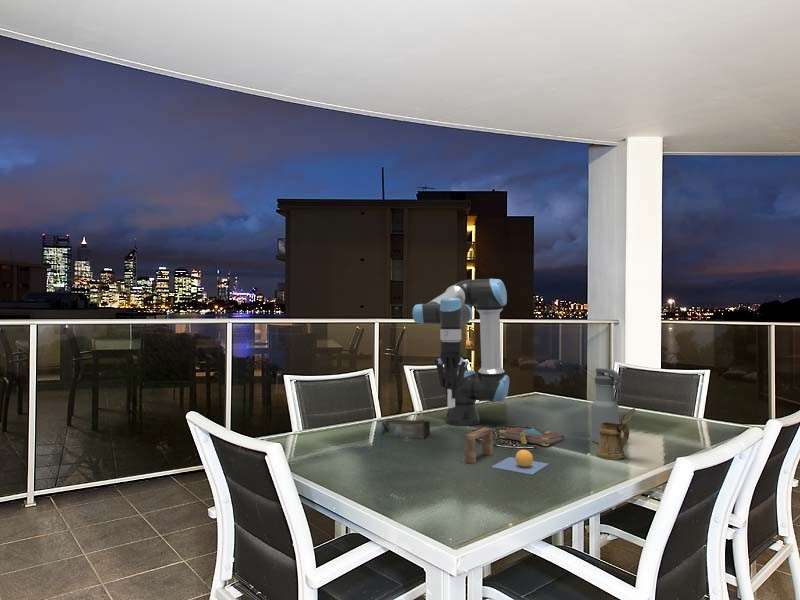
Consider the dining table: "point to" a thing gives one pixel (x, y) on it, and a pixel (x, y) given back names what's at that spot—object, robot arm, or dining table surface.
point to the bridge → (471, 444)
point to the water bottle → (605, 400)
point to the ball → (524, 458)
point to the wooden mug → (614, 438)
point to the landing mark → (512, 465)
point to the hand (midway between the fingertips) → (451, 407)
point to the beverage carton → (406, 428)
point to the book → (532, 436)
